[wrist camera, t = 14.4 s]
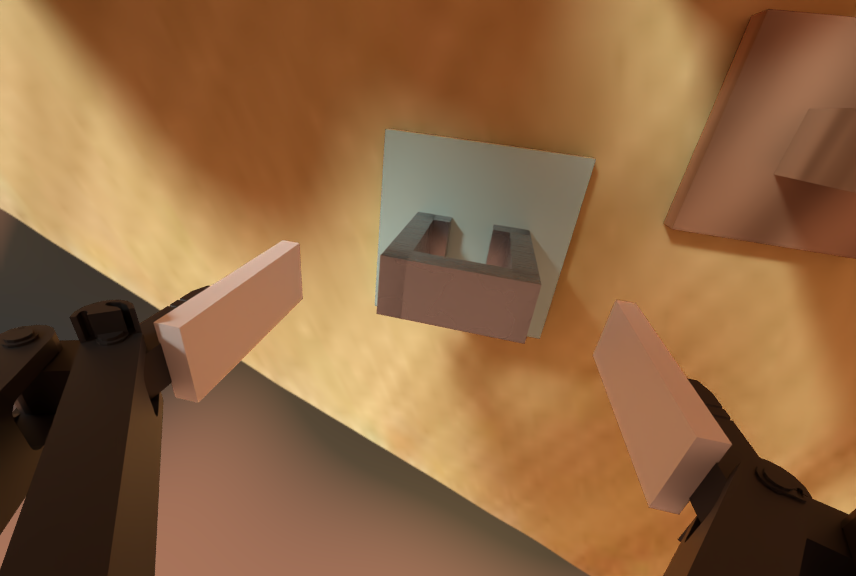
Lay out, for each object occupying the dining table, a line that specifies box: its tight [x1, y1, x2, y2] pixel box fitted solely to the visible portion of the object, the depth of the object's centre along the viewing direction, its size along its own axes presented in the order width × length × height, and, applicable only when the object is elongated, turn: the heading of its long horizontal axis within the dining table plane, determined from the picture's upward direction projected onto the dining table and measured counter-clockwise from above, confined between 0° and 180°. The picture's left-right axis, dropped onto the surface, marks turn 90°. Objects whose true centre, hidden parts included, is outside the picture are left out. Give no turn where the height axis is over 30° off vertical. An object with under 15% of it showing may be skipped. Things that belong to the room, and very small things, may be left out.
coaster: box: [375, 129, 596, 339], centre depth 24 cm, size 12×12×1 cm
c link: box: [377, 212, 541, 344], centre depth 20 cm, size 7×3×8 cm, turn 83°
